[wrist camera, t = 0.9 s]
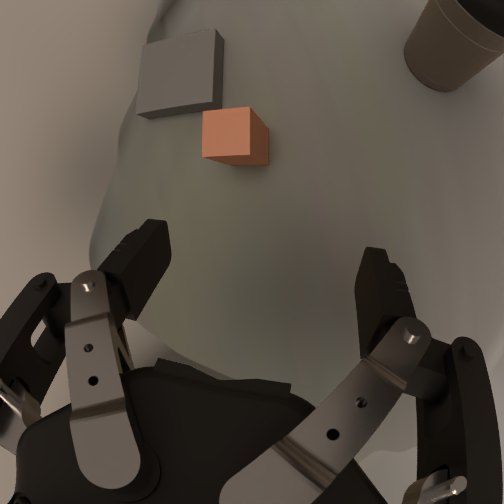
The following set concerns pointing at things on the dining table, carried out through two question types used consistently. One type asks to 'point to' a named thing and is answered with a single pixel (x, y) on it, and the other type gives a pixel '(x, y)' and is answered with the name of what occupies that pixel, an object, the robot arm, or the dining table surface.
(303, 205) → the dining table surface
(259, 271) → the dining table surface
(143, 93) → the charcoal block
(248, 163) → the brick pillar
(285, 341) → the dining table surface
